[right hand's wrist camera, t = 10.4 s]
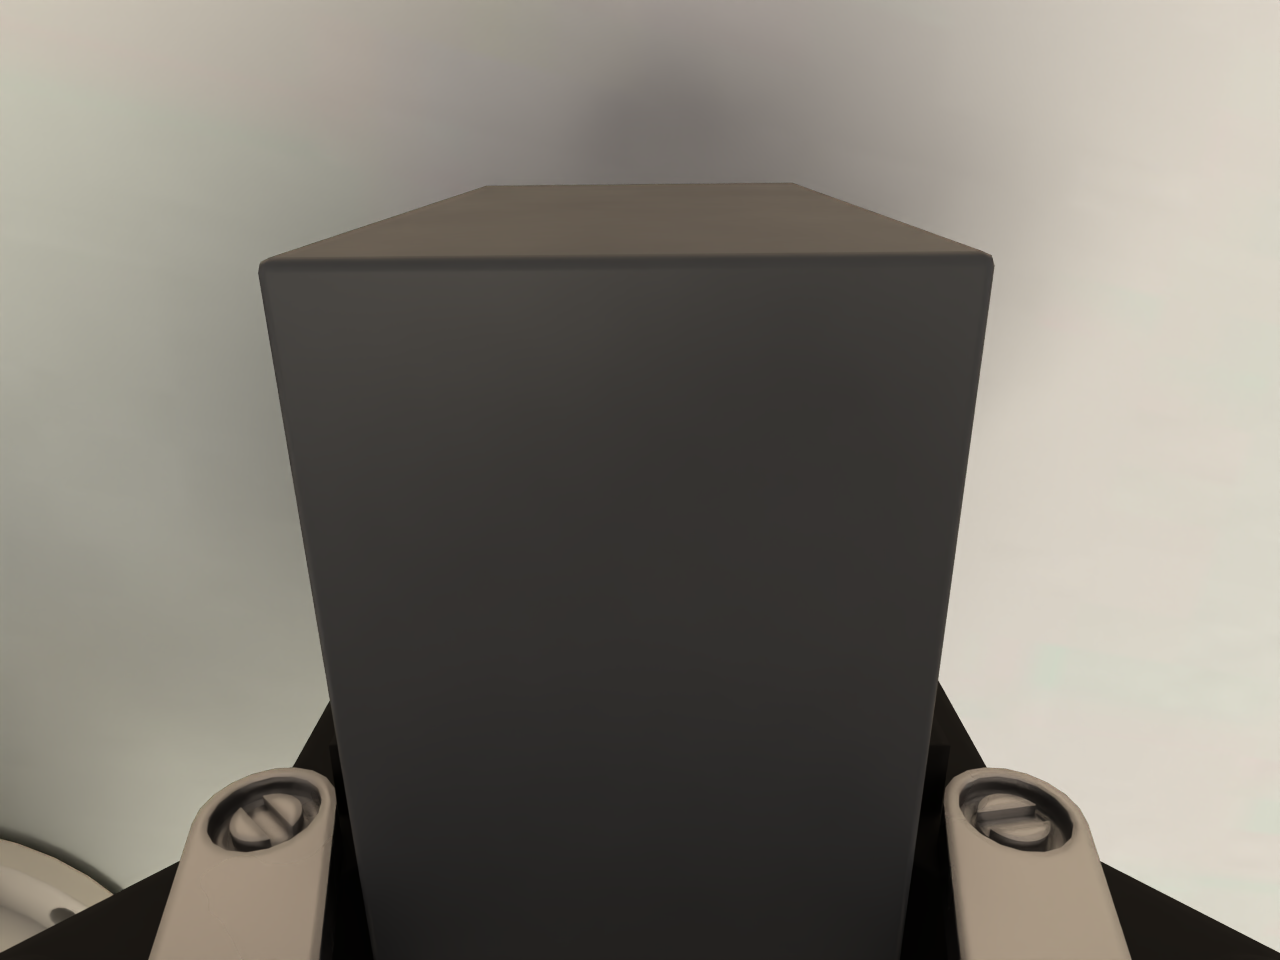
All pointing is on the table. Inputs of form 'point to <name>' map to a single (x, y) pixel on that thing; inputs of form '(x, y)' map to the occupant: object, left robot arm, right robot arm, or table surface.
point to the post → (631, 560)
